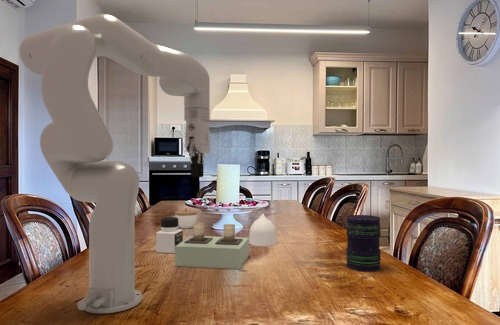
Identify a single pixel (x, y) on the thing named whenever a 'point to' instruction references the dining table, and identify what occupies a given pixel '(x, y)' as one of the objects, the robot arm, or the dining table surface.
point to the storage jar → (363, 243)
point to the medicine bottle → (168, 235)
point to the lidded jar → (186, 218)
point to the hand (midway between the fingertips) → (197, 176)
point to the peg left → (199, 232)
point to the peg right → (229, 233)
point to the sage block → (212, 253)
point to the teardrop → (262, 232)
